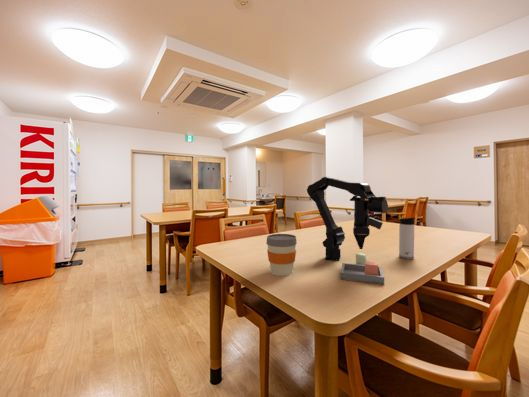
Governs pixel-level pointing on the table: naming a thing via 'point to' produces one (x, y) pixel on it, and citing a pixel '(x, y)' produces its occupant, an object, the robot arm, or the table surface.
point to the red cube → (371, 268)
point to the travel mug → (406, 238)
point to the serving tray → (360, 274)
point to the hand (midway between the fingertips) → (360, 246)
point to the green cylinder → (361, 259)
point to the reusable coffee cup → (281, 253)
